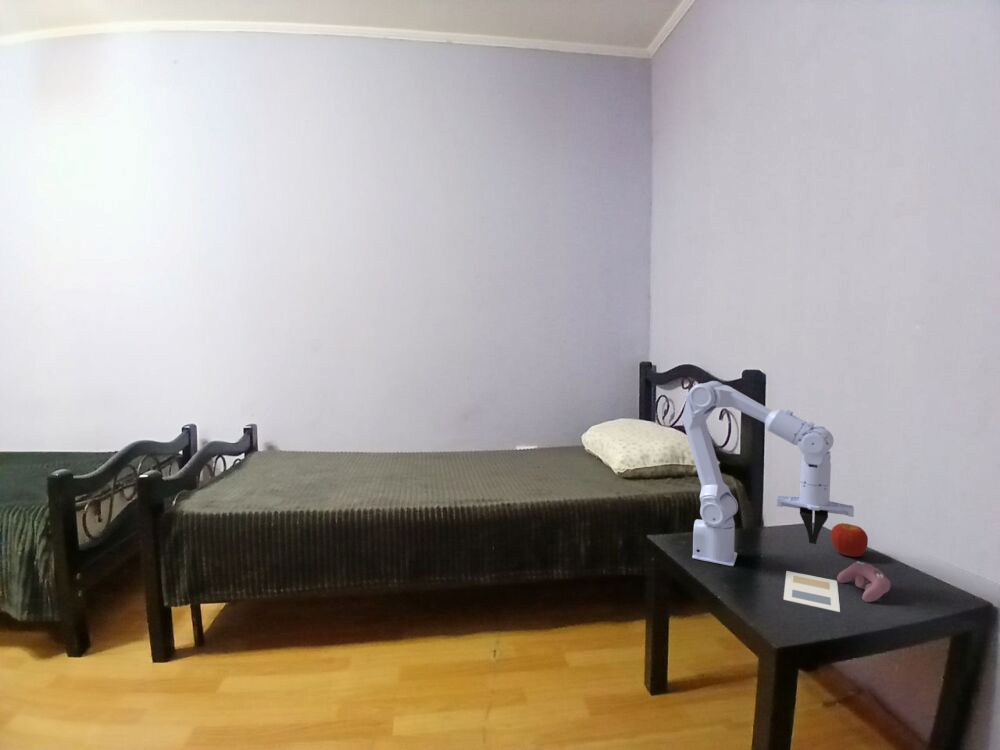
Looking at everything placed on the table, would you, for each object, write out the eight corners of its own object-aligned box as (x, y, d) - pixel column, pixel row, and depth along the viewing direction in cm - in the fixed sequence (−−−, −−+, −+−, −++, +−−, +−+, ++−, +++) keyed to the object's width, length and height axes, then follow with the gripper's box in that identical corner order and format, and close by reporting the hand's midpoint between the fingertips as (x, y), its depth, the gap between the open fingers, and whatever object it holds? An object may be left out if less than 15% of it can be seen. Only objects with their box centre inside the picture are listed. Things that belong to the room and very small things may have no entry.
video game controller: (882, 610, 107) (899, 581, 107) (863, 601, 107) (879, 572, 107) (851, 587, 117) (866, 560, 117) (833, 578, 117) (848, 551, 117)
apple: (837, 559, 128) (838, 528, 127) (824, 546, 136) (825, 517, 135) (873, 562, 126) (874, 531, 126) (858, 549, 134) (859, 519, 133)
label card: (783, 601, 109) (783, 599, 109) (786, 572, 122) (786, 570, 122) (839, 614, 104) (840, 611, 104) (836, 582, 117) (836, 580, 117)
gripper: (776, 482, 115) (774, 541, 116) (855, 492, 107) (853, 555, 108) (778, 474, 121) (776, 531, 122) (853, 483, 113) (850, 543, 115)
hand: (812, 542), depth 116 cm, fingers closed
